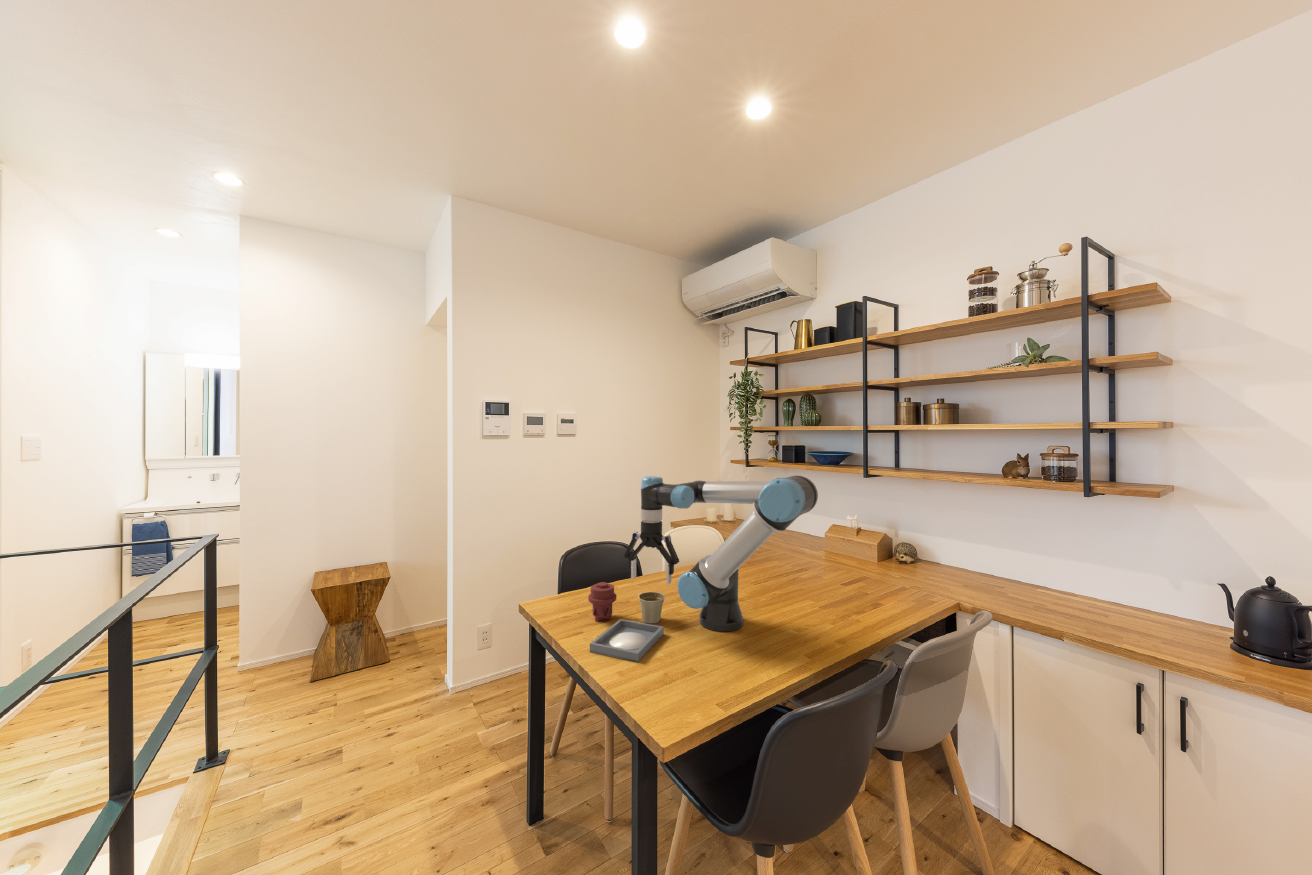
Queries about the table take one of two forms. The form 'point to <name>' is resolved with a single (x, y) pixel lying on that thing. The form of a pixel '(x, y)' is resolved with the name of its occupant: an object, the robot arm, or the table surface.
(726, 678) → the table surface
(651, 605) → the flower pot
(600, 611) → the mechanical component
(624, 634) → the housing tray
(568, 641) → the table surface
